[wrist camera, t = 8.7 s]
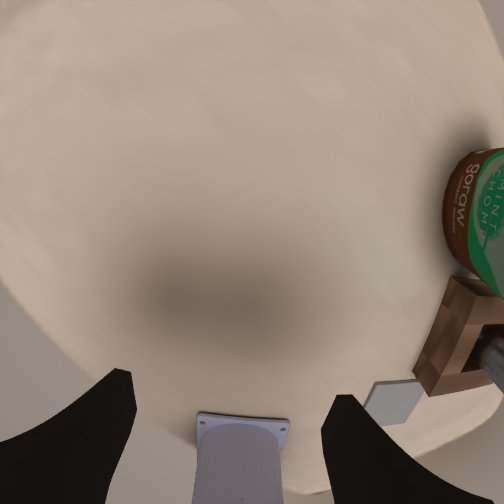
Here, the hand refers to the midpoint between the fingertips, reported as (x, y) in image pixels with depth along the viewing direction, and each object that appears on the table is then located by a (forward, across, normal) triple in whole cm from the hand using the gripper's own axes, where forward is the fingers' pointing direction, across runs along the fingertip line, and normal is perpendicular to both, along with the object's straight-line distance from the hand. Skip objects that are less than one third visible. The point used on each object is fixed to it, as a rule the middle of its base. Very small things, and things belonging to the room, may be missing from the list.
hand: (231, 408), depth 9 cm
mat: (+10, -15, +10) cm, 21 cm away
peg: (+10, -20, +2) cm, 22 cm away
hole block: (+10, -20, +2) cm, 22 cm away
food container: (+10, -15, -8) cm, 20 cm away
